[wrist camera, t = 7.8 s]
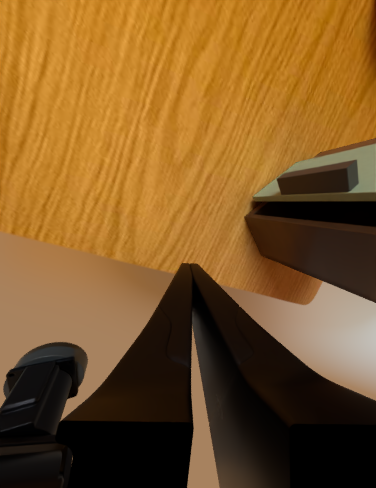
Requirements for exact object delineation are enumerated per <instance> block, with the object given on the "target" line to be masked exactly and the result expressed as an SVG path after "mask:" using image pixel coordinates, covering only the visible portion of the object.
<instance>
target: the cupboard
mask: <svg viewBox="0 0 376 488" xmlns="http://www.w3.org/2000/svg"><path fill="white" fill-rule="evenodd" d="M372 144H376V138H374V139H371V140H367V141H363V142H359V143H355V144H351V145H347V146H344V147H340V148H336V149H332V150H328V151H324V152H320V153H319V154H318V155H317V156H315V157H314V158H317V157H321V156H325V155H330V154H334V153H338V152H342V151H346V150H351V149H355V148H359V147H363V146H368V145H372ZM245 219H246V222H247V224H248V226H249V228H250V230H251V233H252V235H253V237H254V239H255V242H256V244H257V246H258V248H259V250H260V253H261V255H262V256H263V257H266V258H268V259H271V260H273V261H276V262H278V263H280V264H283V265H285V266H288V267H290V268H293V269H295V270H297V271H300V272H302V273H305V274H307V275H310V276H312V277H314V278H317V279H319V280H322V281H324V282H327V283H329V284H332V285H334V286H337V287H339V288H341V289H344V290H346V291H348V292H351V293H353V294H356V295H358V296H360V297H363V298H365V299H368V300H370V301H373V302H375V303H376V201H264V202H262V203H261V204H260V205H259V206H257V207H256V208H255V209H254V210H252V211H251V212H250V213H249V214H247V215H246V216H245Z"/></svg>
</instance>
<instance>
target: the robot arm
mask: <svg viewBox="0 0 376 488" xmlns="http://www.w3.org/2000/svg"><path fill="white" fill-rule="evenodd" d="M192 326H193V331H194V338H195V344H196V349H197V355H198V361H199V367H200V373H201V379H202V384H203V391H204V397H205V403H206V408H207V414H208V420H209V426H210V433H211V438H212V444H213V450H214V456H215V462H216V468H217V474H218V480H219V486H220V488H376V401H375V400H373V399H370V398H368V397H366V396H364V395H361V394H359V393H357V392H354V391H352V390H349V389H347V388H345V387H343V386H340V385H338V384H336V383H334V382H331V381H329V380H328V379H326V378H324V377H322V376H321V375H319V374H318V373H316V372H315V371H313V370H312V369H311V368H309V367H308V366H306V365H305V364H304V363H303V362H302V361H301V360H299V359H298V358H297V357H296V356H295V355H293V354H292V353H291V352H290V351H289V350H288V349H286V348H285V347H284V346H283V345H282V344H281V343H279V342H278V341H277V340H276V339H275V338H274V337H272V336H271V335H270V334H269V333H268V332H267V331H266V330H264V329H263V328H262V327H261V326H260V325H259V324H257V322H255V321H254V320H253V319H252V318H251V317H250V316H249V315H248V314H247V313H246V312H245V311H244V310H243V309H242V308H241V307H239V305H238V304H237V303H236V302H235V301H234V300H233V299H232V298H231V297H230V296H229V295H228V294H227V293H226V292H225V291H224V290H223V289H222V288H221V287H220V286H219V285H218V284H217V283H216V282H215V281H214V280H213V279H212V278H211V277H210V276H209V275H208V274H207V273H206V272H205V271H204V270H203V269H202V268H201V267H200V266H199V265H198V264H194V263H191V264H189V263H182V264H181V266H180V267H179V269H178V271H177V273H176V274H175V276H174V278H173V280H172V282H171V283H170V285H169V287H168V289H167V290H166V292H165V294H164V296H163V298H162V299H161V301H160V303H159V305H158V307H157V308H156V310H155V312H154V313H153V315H152V317H151V318H150V320H149V322H148V323H147V325H146V326H145V328H144V329H143V331H142V332H141V334H140V335H139V336H138V338H137V339H136V340H135V342H134V343H133V344H132V346H131V347H130V348H129V350H128V351H127V352H126V354H125V355H124V356H123V358H122V359H121V360H120V362H119V363H118V364H117V366H116V367H115V368H114V370H113V371H112V372H111V374H110V375H109V376H108V377H107V379H106V380H105V381H104V382H103V383H102V385H101V386H100V387H99V388H98V389H97V390H96V391H95V392H94V393H93V394H92V395H91V396H90V397H89V398H88V399H87V400H85V401H84V402H83V403H82V404H81V405H79V406H78V407H77V408H76V409H75V410H74V411H72V412H71V413H70V414H69V415H67V416H66V417H65V418H64V419H63V420H62V421H60V419H61V416H62V413H63V410H64V407H65V404H66V401H67V399H70V398H73V397H75V396H77V394H78V378H77V366H76V358H75V357H73V356H71V357H66V358H61V359H56V360H52V361H47V362H42V363H37V364H32V365H27V366H22V367H17V368H13V369H11V370H9V372H8V373H7V374H6V380H7V384H8V389H9V395H8V397H7V398H6V400H5V401H4V403H3V405H2V406H1V408H0V488H187V482H188V473H189V465H190V455H191V446H192V438H193V429H194V428H193V414H192V399H191V349H192V348H191V347H192ZM72 456H73V460H72ZM71 464H72V465H71Z"/></svg>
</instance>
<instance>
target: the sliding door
mask: <svg viewBox="0 0 376 488" xmlns="http://www.w3.org/2000/svg"><path fill="white" fill-rule="evenodd" d="M253 200H254V201H376V144H372V145H368V146H363V147H359V148H355V149H351V150H346V151H342V152H338V153H334V154H330V155H325V156H321V157H317V158H313V159H308V160H304V161H300V162H296V163H295V164H294V165H292V166H291V167H290V168H289V169H287V170H286V171H285V172H284V173H282V174H281V175H280V176H278V177H277V178H276V179H275V180H273V181H272V182H271V183H269V184H268V185H267V186H266V187H264V188H263V189H262V190H261V191H259V192H258V193H257V194H255V195H254V196H253Z"/></svg>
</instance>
